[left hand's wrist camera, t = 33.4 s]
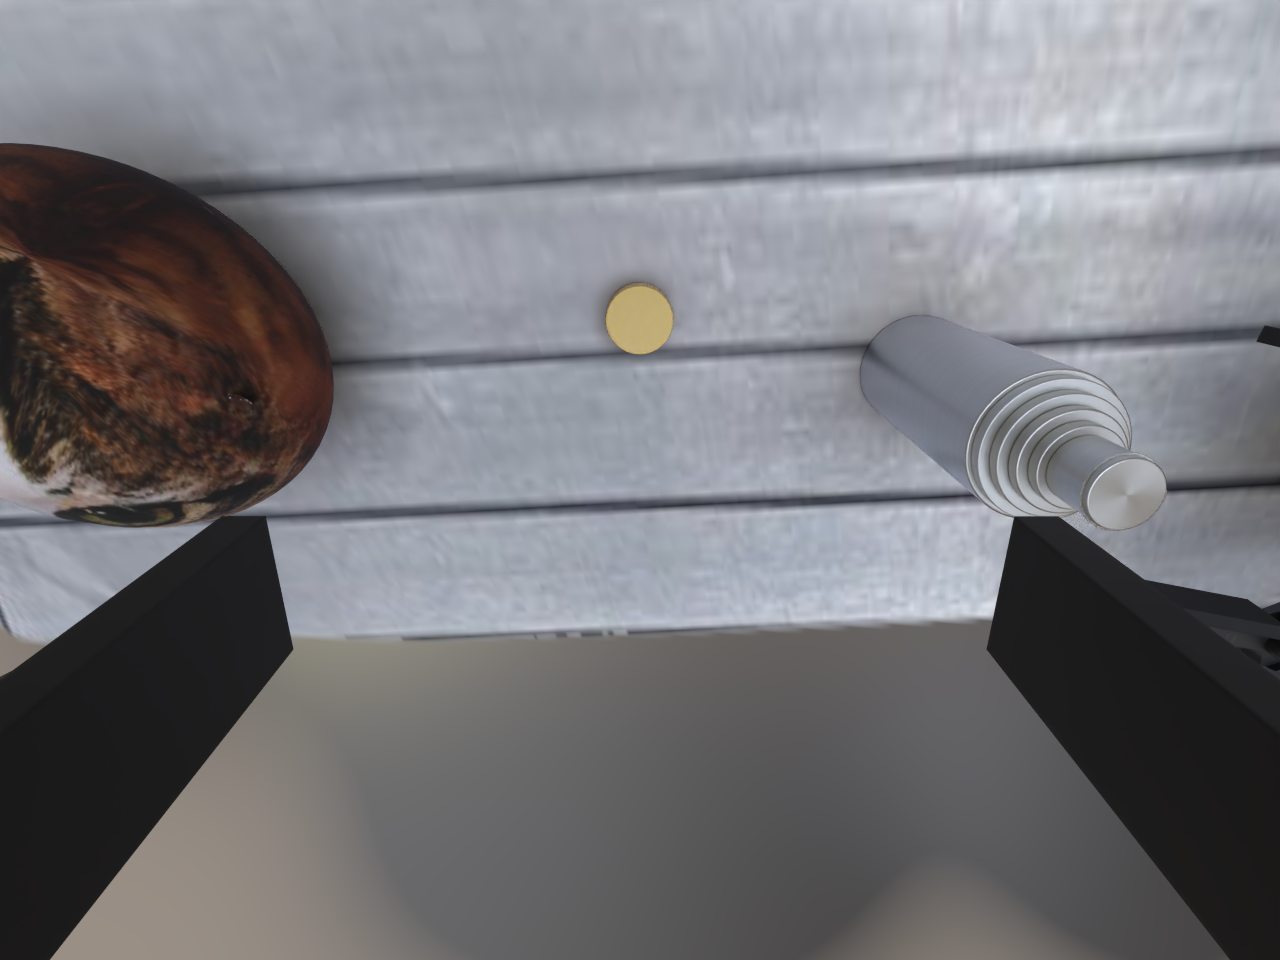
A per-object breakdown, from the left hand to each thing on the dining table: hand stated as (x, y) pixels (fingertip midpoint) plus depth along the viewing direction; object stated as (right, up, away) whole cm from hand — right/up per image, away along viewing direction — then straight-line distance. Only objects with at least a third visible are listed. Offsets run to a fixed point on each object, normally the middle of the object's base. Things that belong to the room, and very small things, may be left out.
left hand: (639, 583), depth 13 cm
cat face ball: (-27, +12, +32) cm, 44 cm away
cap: (0, +12, +30) cm, 32 cm away
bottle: (+18, +9, +33) cm, 39 cm away
